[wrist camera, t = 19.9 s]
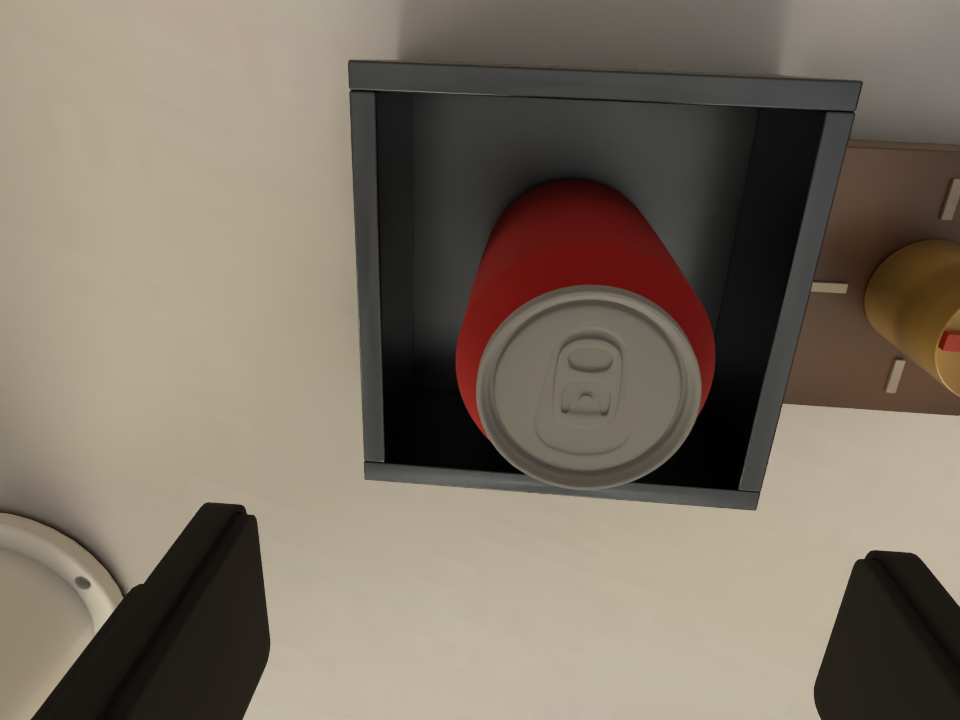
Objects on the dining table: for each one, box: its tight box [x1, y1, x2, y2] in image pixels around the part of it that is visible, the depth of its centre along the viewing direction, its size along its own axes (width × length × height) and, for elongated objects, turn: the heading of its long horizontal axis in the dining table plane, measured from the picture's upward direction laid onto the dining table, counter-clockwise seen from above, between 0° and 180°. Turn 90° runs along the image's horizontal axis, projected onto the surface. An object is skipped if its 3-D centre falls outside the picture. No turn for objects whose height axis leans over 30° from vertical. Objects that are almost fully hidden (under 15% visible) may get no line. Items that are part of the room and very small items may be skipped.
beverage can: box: [456, 179, 715, 490], centre depth 21 cm, size 7×7×12 cm
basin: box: [348, 60, 863, 510], centre depth 25 cm, size 14×14×7 cm
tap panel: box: [783, 140, 960, 416], centre depth 26 cm, size 10×9×3 cm
